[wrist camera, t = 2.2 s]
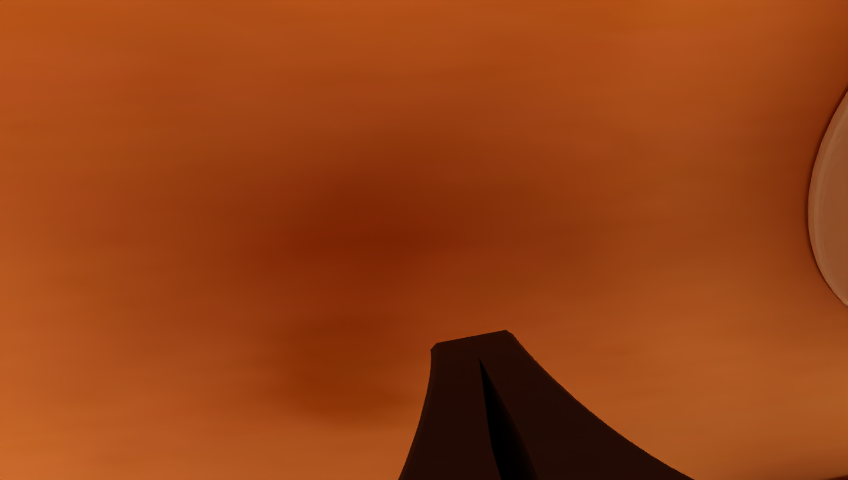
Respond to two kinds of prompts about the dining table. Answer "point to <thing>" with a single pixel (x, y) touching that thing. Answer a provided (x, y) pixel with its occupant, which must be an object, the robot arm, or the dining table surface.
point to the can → (831, 204)
